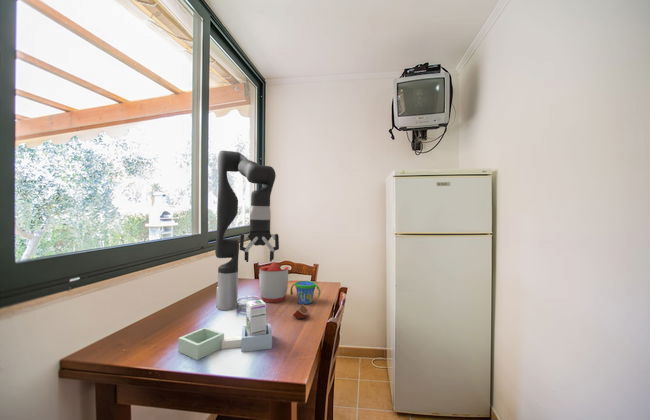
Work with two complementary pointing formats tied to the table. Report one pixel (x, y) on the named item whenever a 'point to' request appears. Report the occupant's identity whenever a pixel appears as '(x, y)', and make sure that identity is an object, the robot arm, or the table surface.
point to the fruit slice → (301, 312)
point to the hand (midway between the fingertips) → (259, 261)
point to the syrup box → (256, 318)
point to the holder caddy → (221, 342)
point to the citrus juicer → (273, 283)
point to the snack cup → (305, 291)
